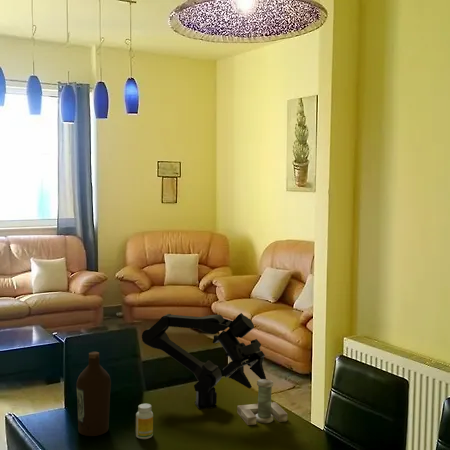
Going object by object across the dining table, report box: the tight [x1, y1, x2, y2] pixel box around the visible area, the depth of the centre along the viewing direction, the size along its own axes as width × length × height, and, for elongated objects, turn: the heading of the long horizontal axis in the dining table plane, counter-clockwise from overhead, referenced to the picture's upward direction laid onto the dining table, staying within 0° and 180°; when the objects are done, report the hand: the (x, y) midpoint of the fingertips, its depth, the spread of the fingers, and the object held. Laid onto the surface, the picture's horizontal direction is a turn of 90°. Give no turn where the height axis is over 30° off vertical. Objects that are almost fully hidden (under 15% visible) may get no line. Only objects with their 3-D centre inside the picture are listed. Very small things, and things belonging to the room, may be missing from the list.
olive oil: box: [75, 351, 112, 437], centre depth 189 cm, size 11×11×25 cm
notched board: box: [236, 401, 288, 426], centre depth 203 cm, size 14×11×2 cm
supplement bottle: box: [135, 403, 154, 440], centre depth 186 cm, size 5×5×10 cm
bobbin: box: [255, 378, 274, 424], centre depth 200 cm, size 6×6×13 cm
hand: (258, 384), depth 202 cm, fingers open, 9 cm apart
